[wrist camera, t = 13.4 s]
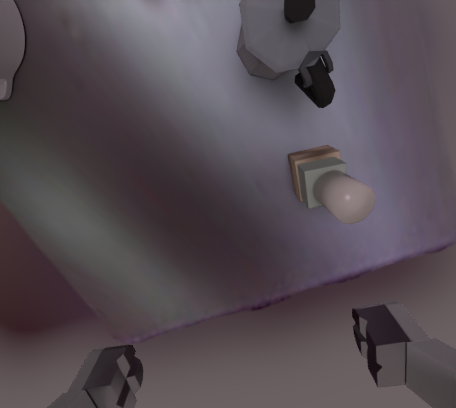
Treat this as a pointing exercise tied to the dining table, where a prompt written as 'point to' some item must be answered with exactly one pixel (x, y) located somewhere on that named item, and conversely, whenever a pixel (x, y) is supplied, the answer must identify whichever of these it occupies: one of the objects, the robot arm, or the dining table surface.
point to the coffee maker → (290, 42)
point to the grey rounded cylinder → (344, 196)
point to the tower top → (316, 176)
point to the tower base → (306, 157)
